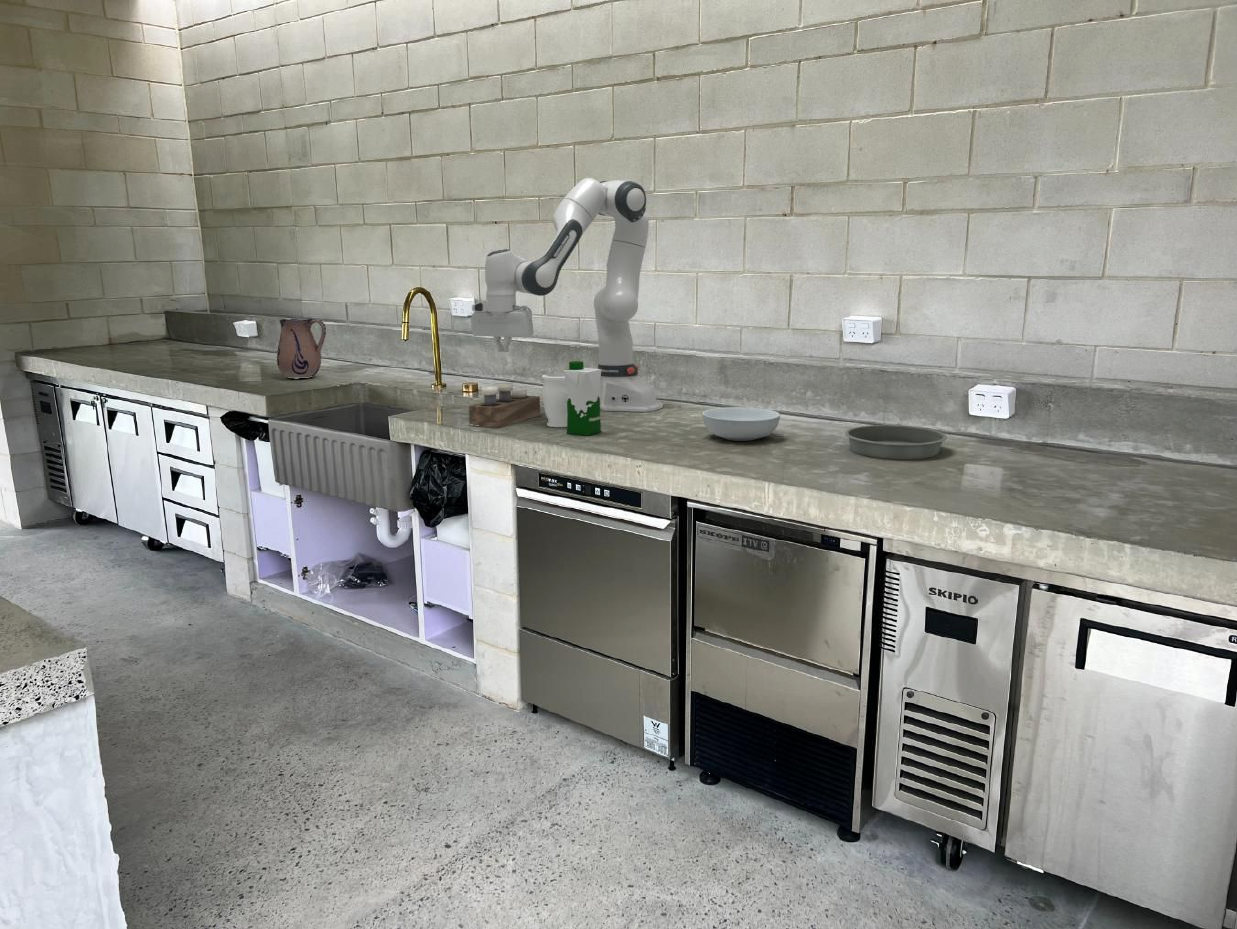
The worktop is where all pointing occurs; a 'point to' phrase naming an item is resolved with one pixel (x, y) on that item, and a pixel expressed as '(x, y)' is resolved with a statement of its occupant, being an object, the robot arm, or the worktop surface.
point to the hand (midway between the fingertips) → (503, 351)
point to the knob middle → (505, 392)
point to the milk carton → (583, 399)
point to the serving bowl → (741, 422)
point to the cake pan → (895, 441)
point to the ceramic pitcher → (299, 348)
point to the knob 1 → (490, 395)
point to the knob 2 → (519, 393)
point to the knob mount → (504, 412)
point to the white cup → (555, 399)
